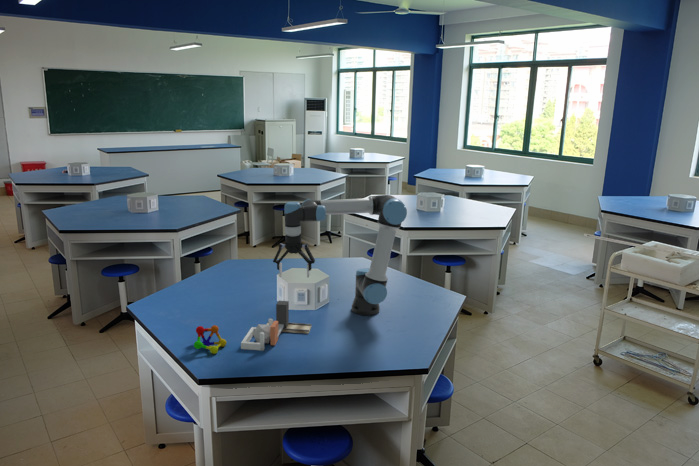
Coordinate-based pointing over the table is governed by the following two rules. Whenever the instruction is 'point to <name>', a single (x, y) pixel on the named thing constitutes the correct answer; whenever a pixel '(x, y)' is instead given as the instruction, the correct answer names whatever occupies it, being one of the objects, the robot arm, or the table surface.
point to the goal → (254, 345)
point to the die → (265, 330)
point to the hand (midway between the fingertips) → (294, 276)
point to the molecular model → (206, 343)
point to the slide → (297, 328)
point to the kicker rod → (279, 320)
